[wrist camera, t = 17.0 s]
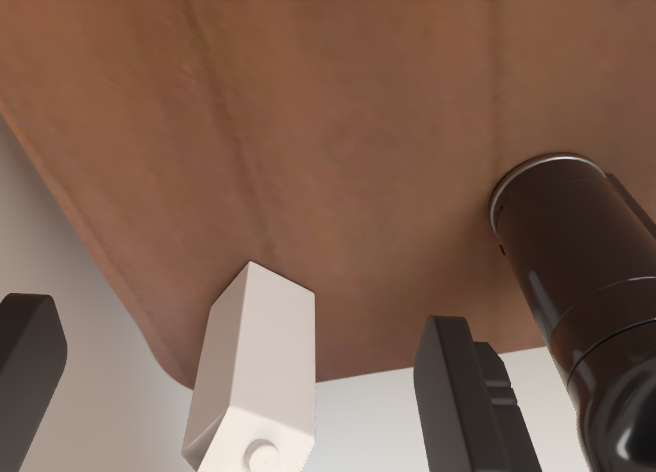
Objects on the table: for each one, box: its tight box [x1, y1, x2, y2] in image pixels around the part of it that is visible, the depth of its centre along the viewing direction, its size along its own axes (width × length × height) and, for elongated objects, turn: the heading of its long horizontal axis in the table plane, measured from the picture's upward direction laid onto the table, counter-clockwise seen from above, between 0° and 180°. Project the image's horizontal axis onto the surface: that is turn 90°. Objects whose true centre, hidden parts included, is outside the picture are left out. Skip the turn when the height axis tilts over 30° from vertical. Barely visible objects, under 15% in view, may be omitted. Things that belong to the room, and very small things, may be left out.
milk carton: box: [181, 261, 316, 472], centre depth 43 cm, size 7×7×19 cm
